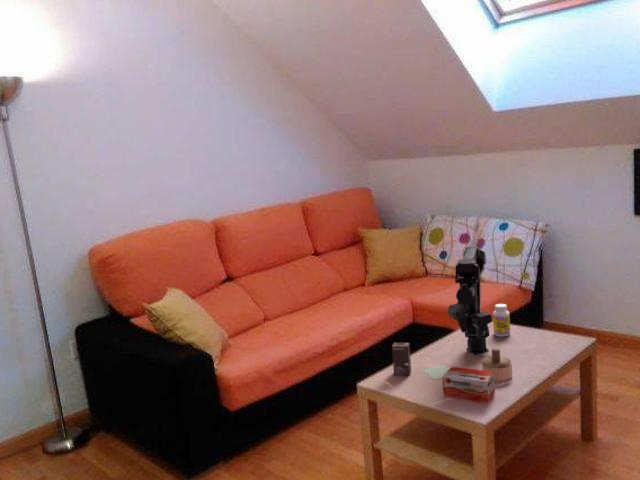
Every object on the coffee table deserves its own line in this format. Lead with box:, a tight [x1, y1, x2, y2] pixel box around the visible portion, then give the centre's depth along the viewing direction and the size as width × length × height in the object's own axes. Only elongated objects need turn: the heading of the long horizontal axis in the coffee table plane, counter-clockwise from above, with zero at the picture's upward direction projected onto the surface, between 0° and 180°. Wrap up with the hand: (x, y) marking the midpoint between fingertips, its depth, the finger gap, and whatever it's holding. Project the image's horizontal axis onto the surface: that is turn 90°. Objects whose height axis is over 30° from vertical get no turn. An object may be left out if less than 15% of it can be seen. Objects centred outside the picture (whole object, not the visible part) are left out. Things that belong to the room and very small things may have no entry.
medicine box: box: [442, 366, 496, 405], centre depth 196 cm, size 15×8×8 cm, turn 58°
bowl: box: [481, 362, 513, 382], centre depth 209 cm, size 10×10×5 cm
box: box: [391, 341, 412, 377], centre depth 217 cm, size 6×4×12 cm
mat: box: [420, 364, 451, 380], centre depth 217 cm, size 10×10×1 cm
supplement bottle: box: [492, 303, 511, 338], centre depth 248 cm, size 7×7×13 cm
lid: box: [481, 348, 512, 368], centre depth 208 cm, size 10×10×5 cm
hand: (471, 335), depth 217 cm, fingers open, 9 cm apart
